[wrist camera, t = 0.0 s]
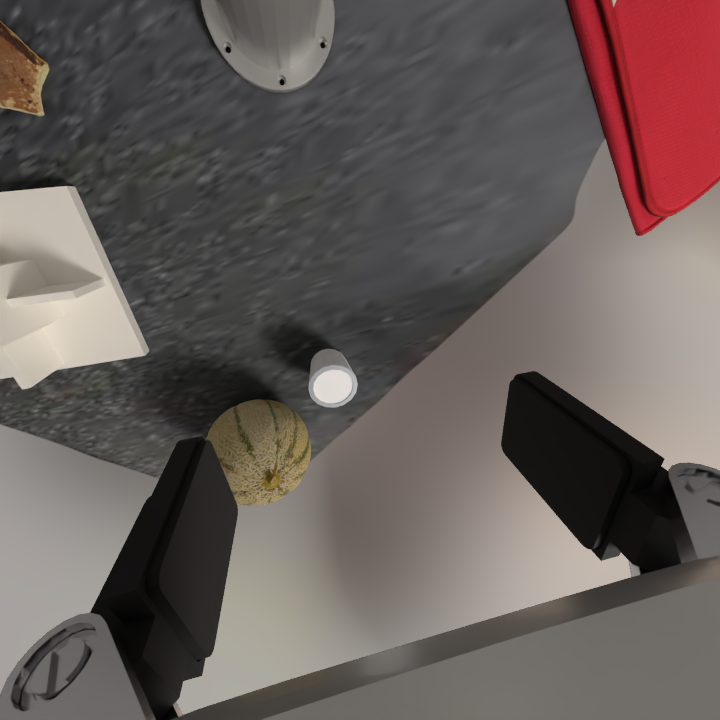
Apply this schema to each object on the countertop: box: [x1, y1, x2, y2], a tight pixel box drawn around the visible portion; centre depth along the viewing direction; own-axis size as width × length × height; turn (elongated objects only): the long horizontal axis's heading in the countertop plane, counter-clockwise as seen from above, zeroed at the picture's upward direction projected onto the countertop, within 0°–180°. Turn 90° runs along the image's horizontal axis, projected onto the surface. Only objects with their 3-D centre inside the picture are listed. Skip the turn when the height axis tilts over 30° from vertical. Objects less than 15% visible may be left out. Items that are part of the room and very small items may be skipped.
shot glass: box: [309, 349, 358, 407], centre depth 46 cm, size 7×7×7 cm
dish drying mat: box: [567, 0, 720, 236], centre depth 38 cm, size 16×41×4 cm, turn 39°
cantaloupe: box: [205, 399, 311, 506], centre depth 45 cm, size 15×15×15 cm
